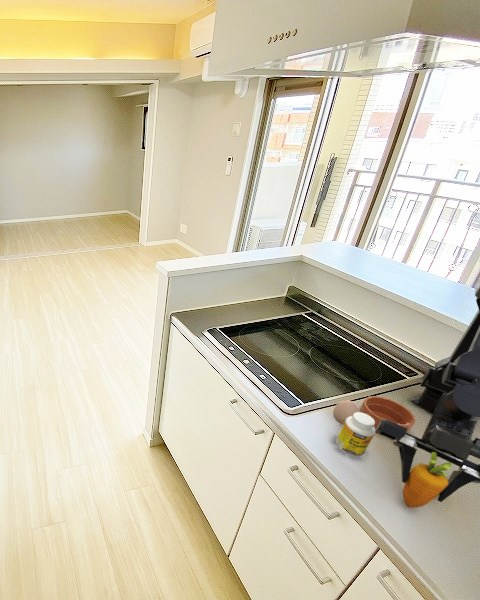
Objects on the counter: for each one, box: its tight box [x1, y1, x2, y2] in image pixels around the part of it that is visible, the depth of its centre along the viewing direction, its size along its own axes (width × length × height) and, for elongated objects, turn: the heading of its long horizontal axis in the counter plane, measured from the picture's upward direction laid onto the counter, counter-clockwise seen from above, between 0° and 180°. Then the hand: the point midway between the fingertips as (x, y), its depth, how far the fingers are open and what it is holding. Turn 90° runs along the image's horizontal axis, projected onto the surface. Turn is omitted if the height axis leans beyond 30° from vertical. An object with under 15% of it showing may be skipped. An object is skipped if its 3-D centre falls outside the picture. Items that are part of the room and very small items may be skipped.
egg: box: [332, 399, 360, 426], centre depth 86 cm, size 5×5×7 cm
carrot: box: [402, 452, 454, 509], centre depth 65 cm, size 5×5×15 cm
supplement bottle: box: [335, 412, 376, 457], centre depth 79 cm, size 6×6×10 cm
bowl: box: [359, 395, 416, 437], centre depth 86 cm, size 10×10×5 cm
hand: (420, 491), depth 64 cm, fingers closed on carrot, 5 cm apart
